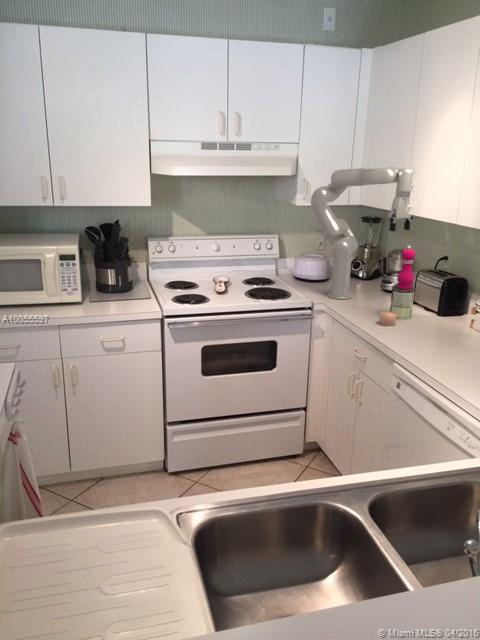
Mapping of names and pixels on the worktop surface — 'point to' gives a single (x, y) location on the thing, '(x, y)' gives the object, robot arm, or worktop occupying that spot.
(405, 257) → the pepper mill
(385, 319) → the pale pink round lump
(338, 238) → the robot arm
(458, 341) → the worktop surface
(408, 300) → the green cylindrical container
